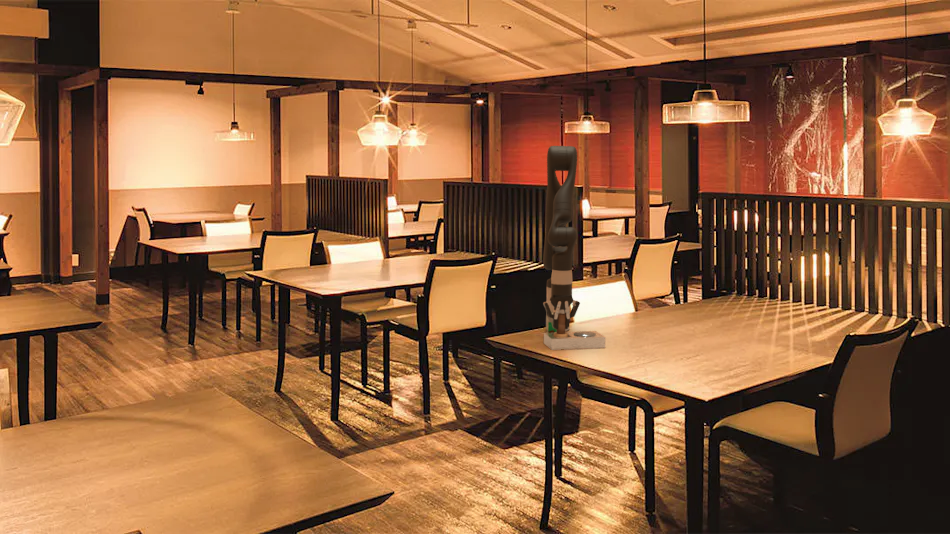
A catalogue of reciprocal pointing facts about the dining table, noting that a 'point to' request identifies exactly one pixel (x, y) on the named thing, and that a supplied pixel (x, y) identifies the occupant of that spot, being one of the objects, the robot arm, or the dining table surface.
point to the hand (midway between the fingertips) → (561, 328)
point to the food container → (550, 324)
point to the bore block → (575, 340)
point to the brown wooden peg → (561, 326)
